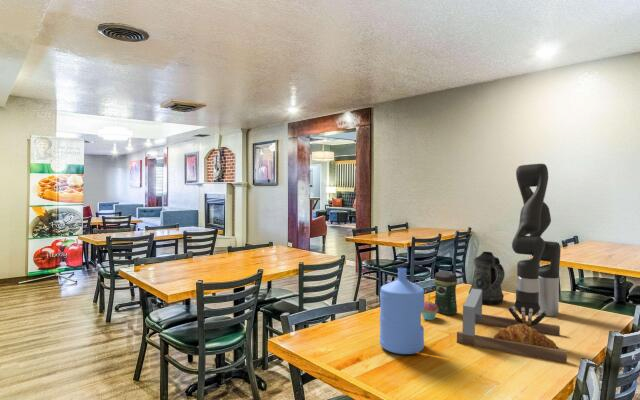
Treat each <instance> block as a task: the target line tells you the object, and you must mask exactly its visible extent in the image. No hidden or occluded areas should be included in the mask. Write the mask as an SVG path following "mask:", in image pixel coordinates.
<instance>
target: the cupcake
mask: <svg viewBox="0 0 640 400" xmlns="http://www.w3.org/2000/svg"><path fill="white" fill-rule="evenodd" d="M430 297H431V296H430V293H428V294H427V301H424V310H423V311H422V312H421V316H422V319H424V320H427V321H433V320H435V318H436V315H437V313H438V311H439V309H438V306H437V305H436V304H435V302H431V301H430Z"/></svg>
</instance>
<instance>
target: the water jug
mask: <svg viewBox="0 0 640 400" xmlns="http://www.w3.org/2000/svg"><path fill="white" fill-rule="evenodd" d="M407 271H408V269H407V268H406V267H399V268H398V267H397V279H395V280H392V281H390V282H388V283H386V284H383V285H382V286H380V292H379V300H380V306H379V307H380V312H379V313H380V314H379V322H380V323H379V345H380V346H381V347H382V348H383V349H385V350H386V351H388V352H391V353H393V354H398V355H413V354H417V353H420V352H421V351H423V349H424V348H425V347H424V346H425V340H424V339H425V338H424V337H425V335H424V334H425V333H424V332H425V331H424V330H425V329H424V326H423V325H422V322H421V321H422V311H423V310H424V302H425V298H426V297H425V289H424V288H423V287H421V286H419V285H417V284H416V283H414V282H411V281H410V280H408V279H407V278H408V277H407V276H408V273H407Z"/></svg>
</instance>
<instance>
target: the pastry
mask: <svg viewBox="0 0 640 400" xmlns="http://www.w3.org/2000/svg"><path fill="white" fill-rule="evenodd" d="M493 338H496V339H502V340H507V341H513V342H519V343H525V344H530V345H536V346H542V347H548V348H553V349H559V350H560V347H558V345H557V344H556V342H555V341H554V340H552V339H550V338H549V337H547V336H546V334H545V333H539V332H537V330H536V329H533V328H532V327H528V325H526V324H517V325H512V326H508V327H505V328H502V329H500V331H498V332H497V333H496V334H495V335H494V336H493Z"/></svg>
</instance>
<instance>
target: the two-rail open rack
mask: <svg viewBox="0 0 640 400" xmlns="http://www.w3.org/2000/svg"><path fill="white" fill-rule="evenodd" d="M476 323H477V324H483V325H490V326H496V327H503V328H507V327H508V326H512V325H517V324H522V323H520V322H517V321H516V319H515V318H509V317H502V316H497V315H489V314H483V304H482V290H480V289H472V290H471V292H470V294H469V293H468V296H467V297H466V299H465V302H464V304H462V332H460V331H457V333H456V343H458V344H463V345H469V346H473V347H479V348H485V349H489V350H494V351H500V352H505V353H510V354H516V355H517V354H518V355H521V356H527V357H531V358H537V359H543V360H548V361H554V362H558V363H564V364H567V363H568V354H567V353H568V352H567V350H563V349H560V348H559V349H553V348H548V347H542V346H536V345H530V344H525V343H519V342H513V341H507V340H502V339H496V338H494V337H490V336H483V335H478V334H476ZM526 324H528V320H526ZM531 327H532V328H533V329H536V330H537V332H539V333H541V334H544V335H552V336H557V337H560V335H561V331H560V330H561V327H560V325H556V324H550V323H543V322H539V323H538V324H537V325H532V326H531Z"/></svg>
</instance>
